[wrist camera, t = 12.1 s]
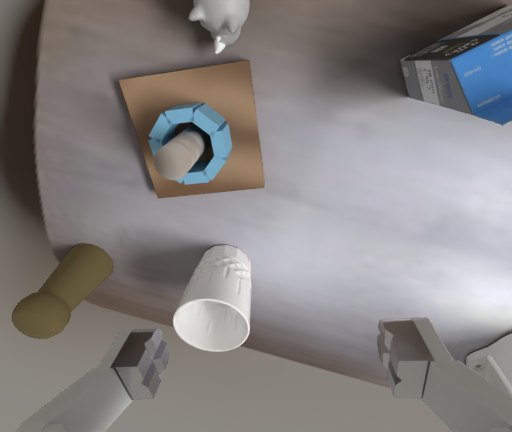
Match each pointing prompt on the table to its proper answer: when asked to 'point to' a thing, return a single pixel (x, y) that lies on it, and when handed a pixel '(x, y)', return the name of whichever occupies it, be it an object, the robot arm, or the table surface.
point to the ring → (208, 123)
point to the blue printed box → (467, 69)
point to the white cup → (216, 301)
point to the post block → (193, 137)
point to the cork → (62, 292)
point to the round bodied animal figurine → (221, 19)
